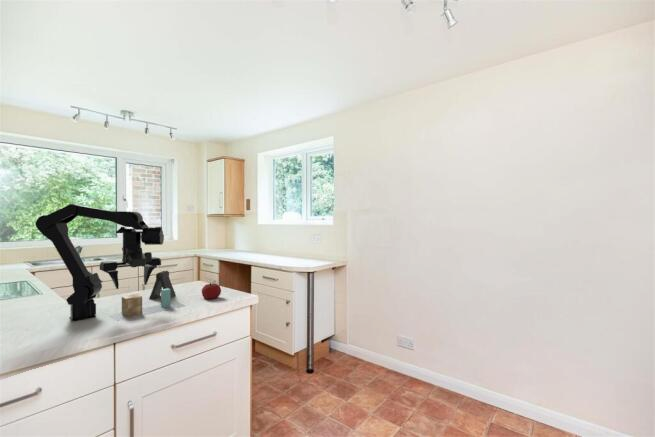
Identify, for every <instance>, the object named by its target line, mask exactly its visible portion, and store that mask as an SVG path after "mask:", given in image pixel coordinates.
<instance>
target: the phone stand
mask: <svg viewBox="0 0 655 437" xmlns="http://www.w3.org/2000/svg"><path fill="white" fill-rule="evenodd" d="M167 288H168V289H170V300H171V299H172V298H174V297H176V292H175V289H174V287H173V283H172V282H171V279H170V272H169V271H168V270H163V271H160V272H157V273H156V274H155V282H154V284H153V287H152V289H151V291H150V292H151V293H150V296H149V298H148V299H149V300H156V299H158V298H159V297H161V289H167Z"/></svg>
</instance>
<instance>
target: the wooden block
mask: <svg viewBox="0 0 655 437" xmlns="http://www.w3.org/2000/svg"><path fill="white" fill-rule="evenodd" d="M142 308H143V295H141V294H139V293H134V294H128V295H122V296H121V312H122V315H124V316H125V317H129V316H133V315H138V314H142Z"/></svg>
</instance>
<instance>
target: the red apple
mask: <svg viewBox="0 0 655 437" xmlns="http://www.w3.org/2000/svg"><path fill="white" fill-rule="evenodd" d="M221 294H222V289H221V286H220V285H219V284H218V283H212V282H209V283H207V284H205V285H203V287H202V289H201V295H202V297H203V298H204V299H206V300H210V301H211V300H214V299H218V298H219V297H220V295H221Z"/></svg>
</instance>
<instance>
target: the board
mask: <svg viewBox="0 0 655 437" xmlns="http://www.w3.org/2000/svg"><path fill="white" fill-rule="evenodd" d="M182 307H187V305H186V304H183V303H181V302H179V301H170V307H166V308H163V307H161V303H159V304H156V305H151V306H146V307H145V306H144V307H142V314H138V315H133V316H129V317H125V316H124V315H122V311H121V312H116V313H112V314H109V317H111V318H113V320H114V321H117V322H119V321H120V322H121V321H123V320H124V321H125V320H129V319H133V318H134V319H135V318H137V317H143V316H147V315H151V314H156V313H160V312H164V311H169V310H174V309H177V308H178V309H179V308H182Z"/></svg>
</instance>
